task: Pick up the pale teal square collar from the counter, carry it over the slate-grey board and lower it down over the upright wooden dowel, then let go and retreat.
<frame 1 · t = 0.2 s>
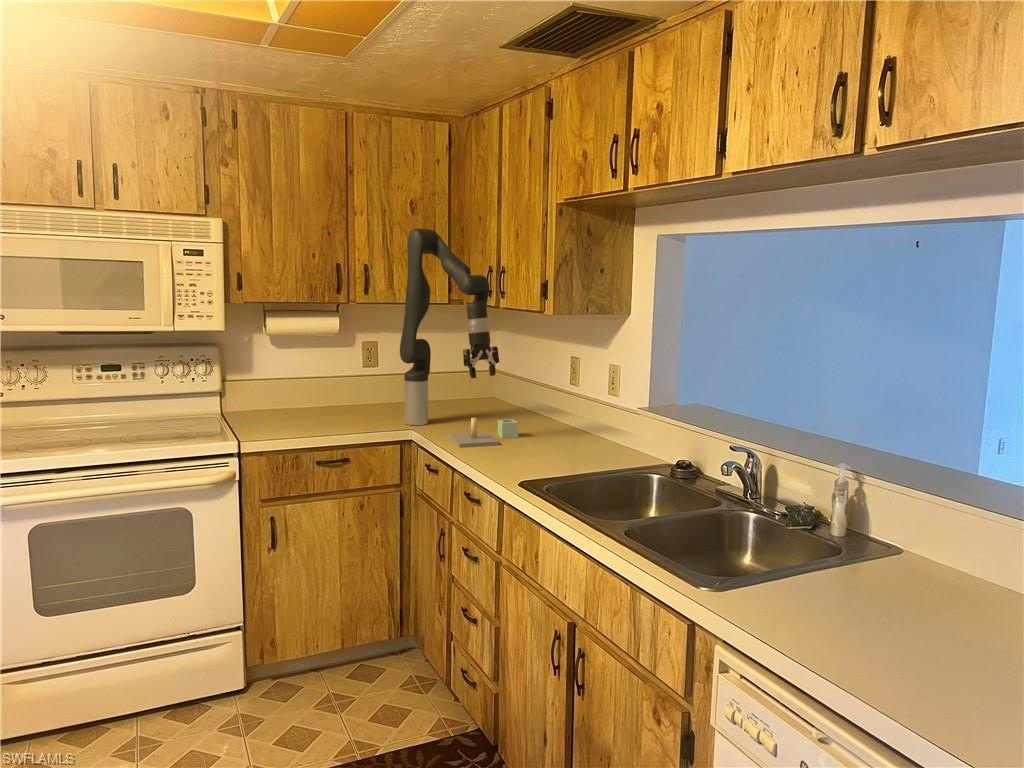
hand: (483, 376, 262), 22 cm above the worktop, fingers open, 8 cm apart
collar: (507, 436, 269), on the worktop
board: (473, 441, 260), on the worktop
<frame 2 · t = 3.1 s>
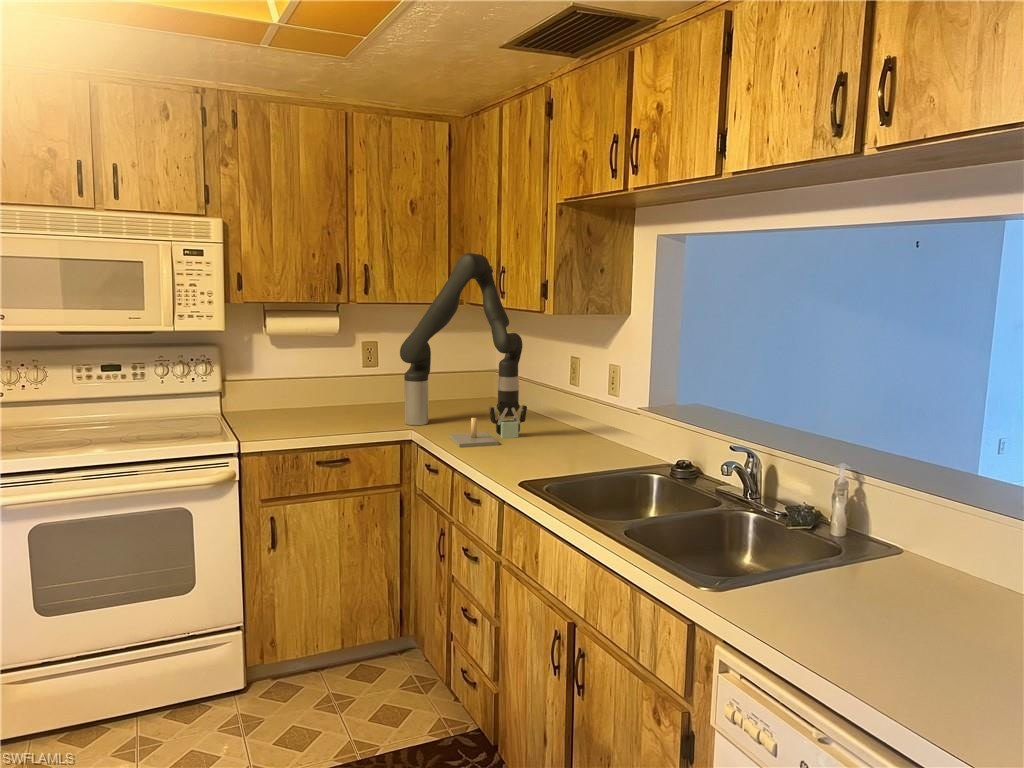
hand: (507, 433, 268), 1 cm above the worktop, fingers closed on collar, 6 cm apart
collar: (507, 436, 269), on the worktop, touching gripper
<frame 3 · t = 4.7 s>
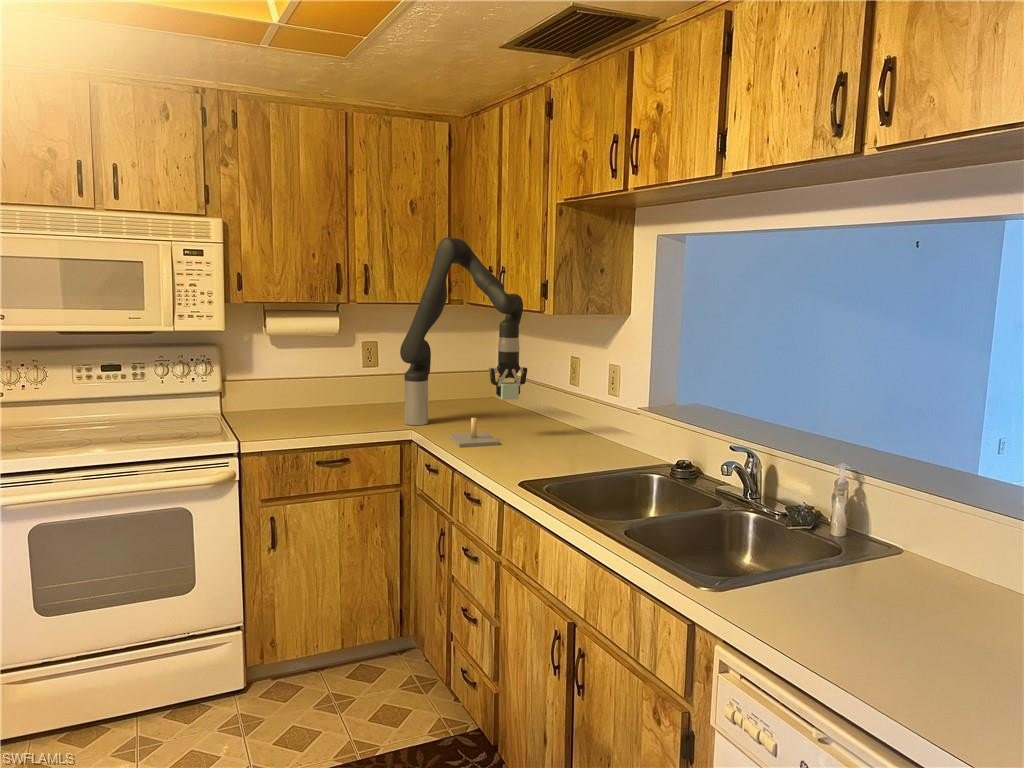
hand: (507, 395, 266), 15 cm above the worktop, fingers closed on collar, 6 cm apart
collar: (508, 398, 267), point 14 cm above the worktop, touching gripper
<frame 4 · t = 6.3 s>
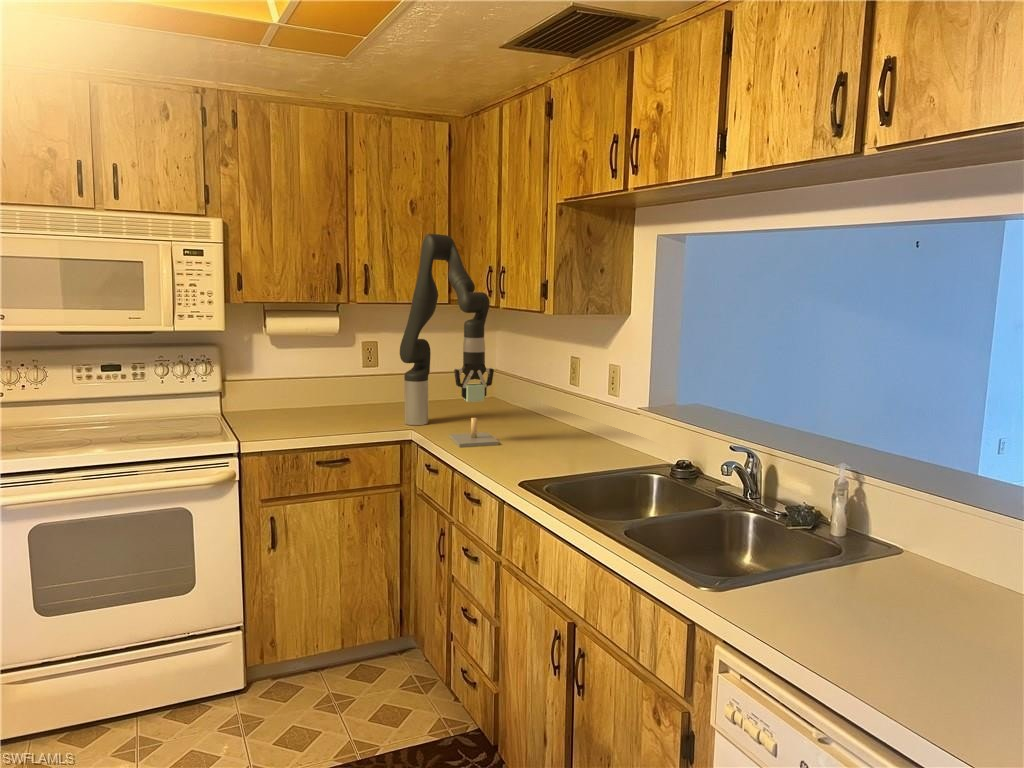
hand: (473, 397, 258), 15 cm above the worktop, fingers closed on collar, 6 cm apart
collar: (474, 400, 258), point 15 cm above the worktop, touching gripper
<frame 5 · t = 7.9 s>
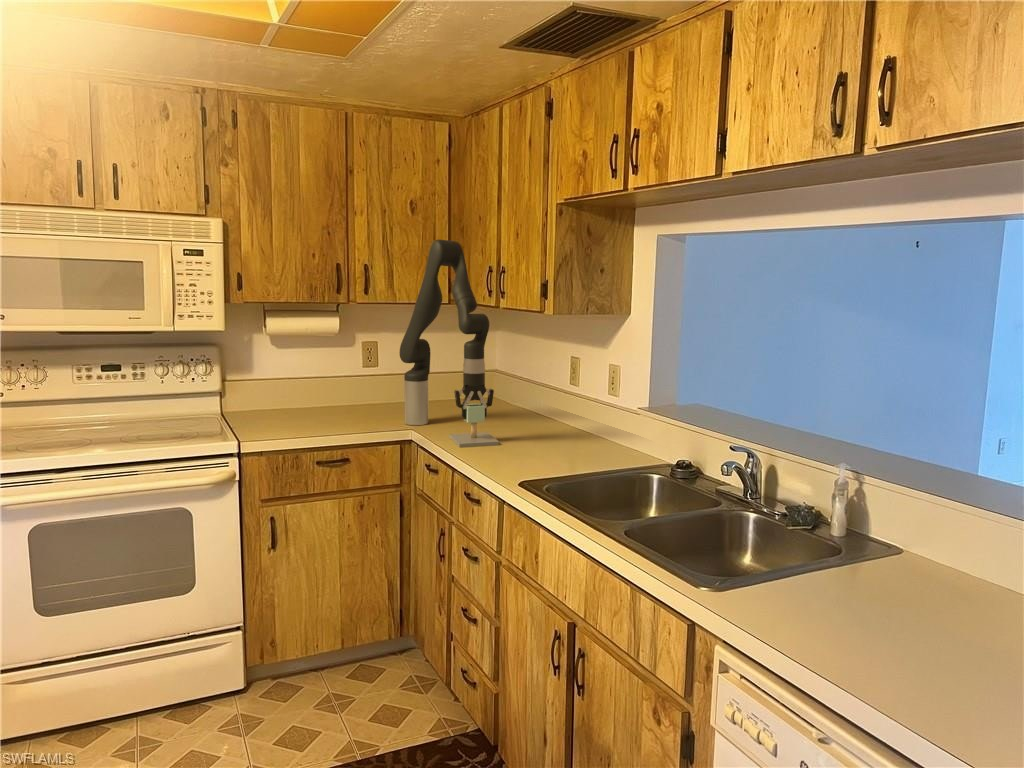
hand: (474, 418, 259), 8 cm above the worktop, fingers closed on collar, 6 cm apart
collar: (474, 420, 259), point 7 cm above the worktop, touching gripper
when the fingers open (4 cm above the worktop, at t = 9.5 s): collar drops 2 cm, resting on board.
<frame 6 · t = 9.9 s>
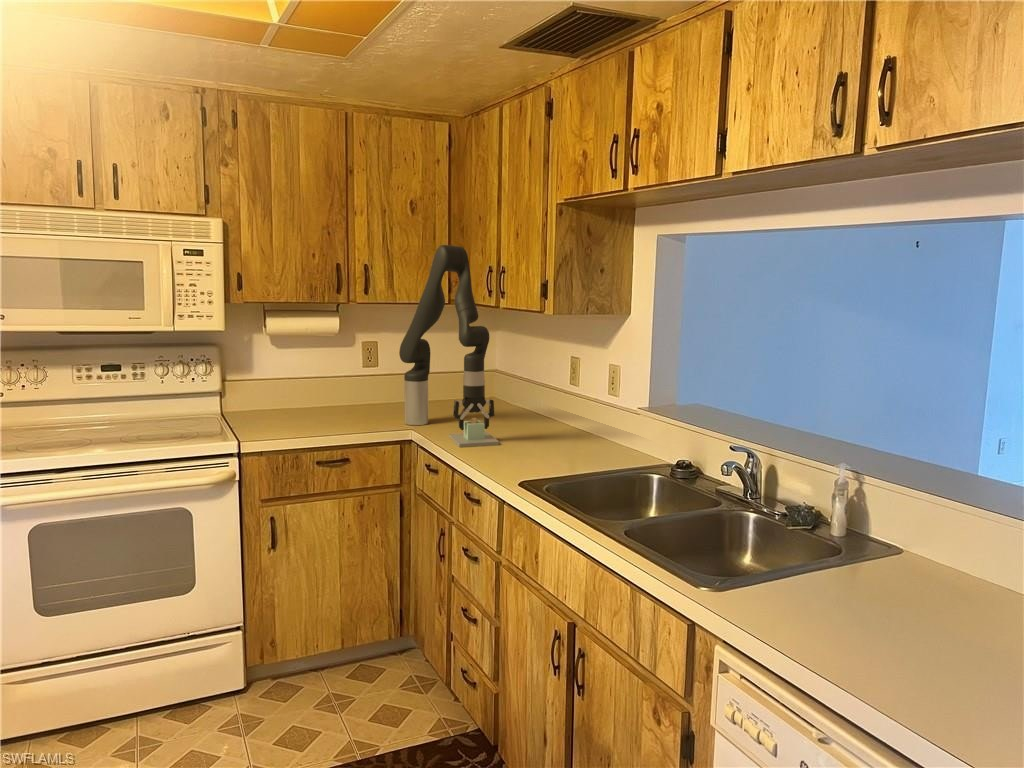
hand: (473, 429, 259), 4 cm above the worktop, fingers open, 8 cm apart
collar: (474, 437, 260), point 1 cm above the worktop, touching board
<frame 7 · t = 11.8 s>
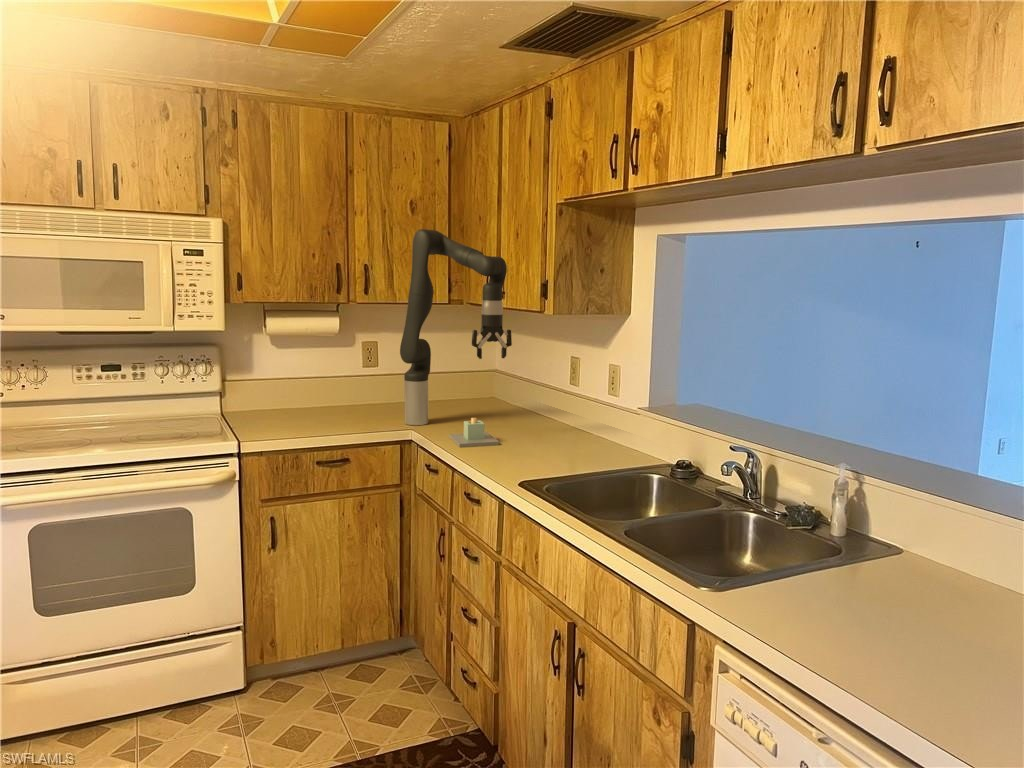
hand: (491, 358, 265), 28 cm above the worktop, fingers open, 8 cm apart
nothing on the worktop moved.
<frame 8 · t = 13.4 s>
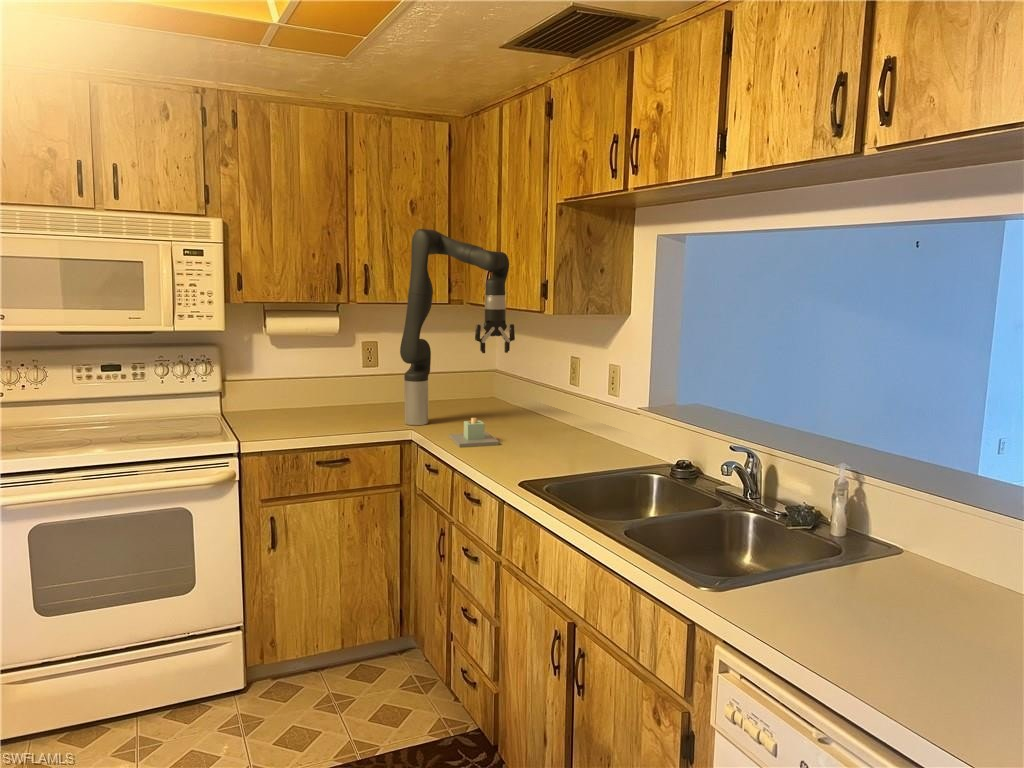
hand: (494, 352, 267), 30 cm above the worktop, fingers open, 8 cm apart
nothing on the worktop moved.
at the end: collar 0.1 cm from the board (horizontally); collar point 1.2 cm above the worktop; the gripper is holding nothing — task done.
